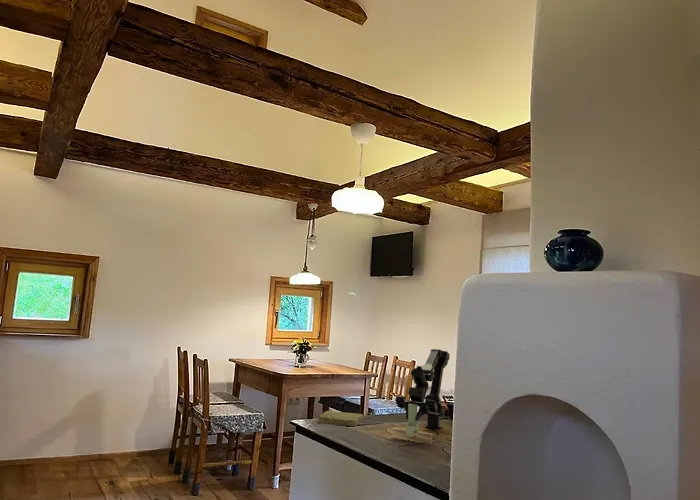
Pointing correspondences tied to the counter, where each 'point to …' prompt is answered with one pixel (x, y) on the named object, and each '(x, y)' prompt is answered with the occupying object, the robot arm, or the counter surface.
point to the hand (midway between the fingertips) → (411, 419)
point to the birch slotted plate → (419, 437)
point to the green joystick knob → (412, 420)
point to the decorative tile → (340, 418)
